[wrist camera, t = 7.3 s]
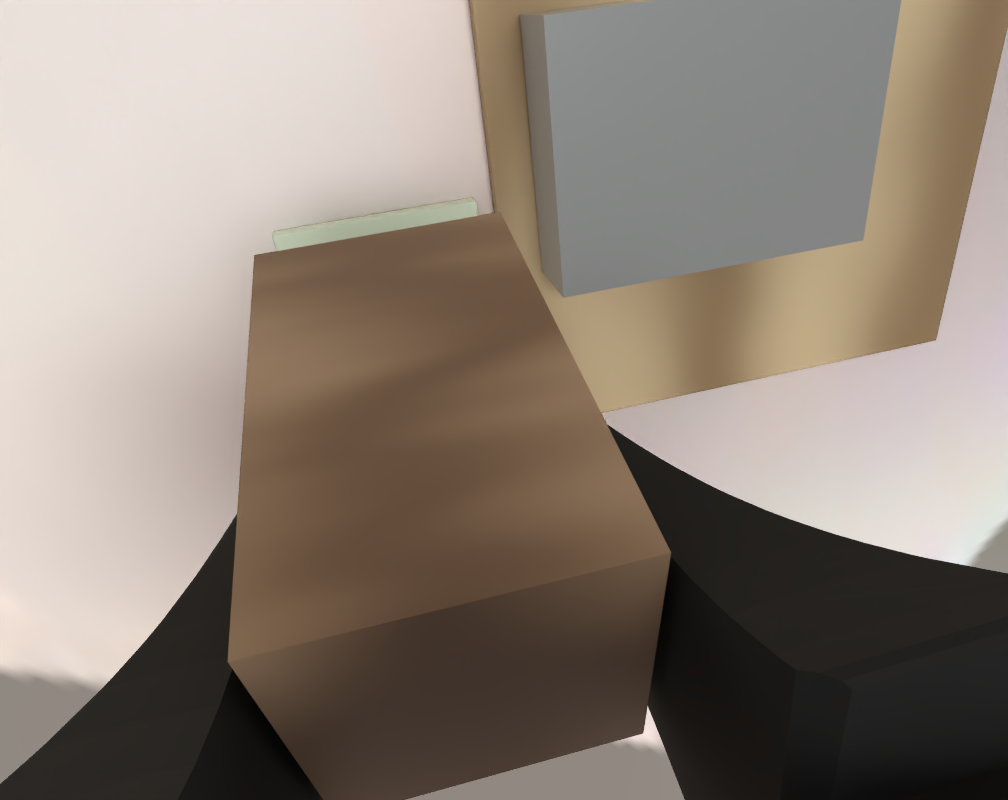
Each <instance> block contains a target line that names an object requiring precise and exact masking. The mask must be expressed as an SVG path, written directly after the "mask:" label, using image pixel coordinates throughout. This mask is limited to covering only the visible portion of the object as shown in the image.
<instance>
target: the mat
mask: <svg viewBox="0 0 1008 800" xmlns="http://www.w3.org/2000/svg"><path fill="white" fill-rule="evenodd" d="M615 1H622V0H469V5H470V14H471V22H472V30H473V39H474V47H475V55H476V64H477V72H478V80H479V89H480V97H481V105H482V114H483V122H484V130H485V139H486V147H487V155H488V164H489V172H490V180H491V189H492V197H493V205H494V213H497V212H501V214H502V216H503V218H504V220H505V222H506V224H507V226H508V228H509V230H510V232H511V234H512V236H513V238H514V240H515V242H516V244H517V246H518V248H519V250H520V252H521V254H522V256H523V258H524V260H525V262H526V264H527V266H528V268H529V270H530V272H531V274H532V276H533V278H534V280H535V282H536V284H537V286H538V288H539V290H540V292H541V294H542V296H543V298H544V300H545V302H546V304H547V306H548V308H549V310H550V312H551V314H552V316H553V318H554V320H555V322H556V324H557V326H558V328H559V330H560V332H561V334H562V336H563V338H564V340H565V342H566V344H567V346H568V348H569V350H570V352H571V354H572V356H573V358H574V360H575V362H576V364H577V366H578V368H579V370H580V372H581V374H582V376H583V378H584V380H585V382H586V384H587V386H588V388H589V390H590V392H591V394H592V396H593V398H594V400H595V402H596V404H597V406H598V408H599V410H600V412H601V413H603V412H608V411H612V410H617V409H622V408H626V407H631V406H635V405H640V404H645V403H649V402H654V401H658V400H663V399H668V398H672V397H677V396H681V395H686V394H691V393H695V392H700V391H704V390H709V389H714V388H718V387H723V386H727V385H732V384H737V383H741V382H746V381H750V380H755V379H760V378H764V377H769V376H773V375H778V374H783V373H787V372H792V371H796V370H801V369H806V368H810V367H815V366H819V365H824V364H829V363H833V362H838V361H842V360H847V359H852V358H856V357H861V356H865V355H870V354H875V353H879V352H884V351H888V350H893V349H898V348H902V347H907V346H911V345H916V344H921V343H925V342H930V341H934V340H936V338H937V334H938V329H939V325H940V320H941V316H942V312H943V307H944V303H945V299H946V294H947V290H948V285H949V281H950V277H951V272H952V268H953V264H954V259H955V255H956V250H957V246H958V242H959V237H960V233H961V229H962V224H963V220H964V215H965V211H966V207H967V202H968V198H969V194H970V189H971V185H972V180H973V176H974V172H975V167H976V163H977V159H978V154H979V150H980V145H981V141H982V137H983V132H984V128H985V124H986V119H987V115H988V110H989V106H990V102H991V97H992V93H993V89H994V84H995V80H996V75H997V71H998V67H999V62H1000V58H1001V54H1002V49H1003V45H1004V40H1005V36H1006V32H1007V27H1008V0H901V6H900V12H899V18H898V24H897V31H896V37H895V43H894V50H893V56H892V62H891V69H890V75H889V81H888V88H887V94H886V100H885V107H884V113H883V119H882V126H881V132H880V138H879V144H878V151H877V157H876V163H875V170H874V176H873V182H872V189H871V195H870V201H869V208H868V214H867V220H866V227H865V233H864V239H863V241H858V242H853V243H847V244H842V245H837V246H832V247H826V248H821V249H816V250H811V251H806V252H800V253H795V254H790V255H785V256H779V257H774V258H769V259H764V260H758V261H753V262H748V263H743V264H738V265H732V266H727V267H722V268H717V269H711V270H706V271H701V272H696V273H691V274H685V275H680V276H675V277H670V278H664V279H659V280H654V281H649V282H644V283H638V284H633V285H628V286H623V287H617V288H612V289H607V290H602V291H597V292H591V293H586V294H581V295H576V296H570V297H565V298H563V297H562V295H561V294H560V293H559V292H558V290H557V289H556V288H555V287H554V285H553V284H552V283H551V282H550V280H549V279H548V278H547V277H546V275H545V274H544V273H543V272H542V267H541V255H540V243H539V232H538V220H537V209H536V197H535V185H534V174H533V162H532V151H531V139H530V127H529V116H528V104H527V93H526V81H525V69H524V58H523V46H522V35H521V23H520V14H526V13H533V12H541V11H548V10H555V9H563V8H570V7H578V6H585V5H592V4H600V3H607V2H615Z"/></svg>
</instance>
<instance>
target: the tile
mask: <svg viewBox="0 0 1008 800" xmlns="http://www.w3.org/2000/svg"><path fill="white" fill-rule="evenodd" d="M900 6H901V0H622V1H615V2H607V3H600V4H592V5H585V6H578V7H570V8H563V9H555V10H548V11H541V12H533V13H526V14H520V23H521V35H522V46H523V58H524V69H525V81H526V93H527V104H528V116H529V127H530V139H531V151H532V162H533V174H534V185H535V197H536V209H537V220H538V232H539V243H540V255H541V267H542V272H543V273H544V274H545V275H546V277H547V278H548V279H549V280H550V282H551V283H552V284H553V285H554V287H555V288H556V289H557V290H558V292H559V293H560V294H561V295H562V297H563V298H565V297H570V296H576V295H581V294H586V293H591V292H597V291H602V290H607V289H612V288H617V287H623V286H628V285H633V284H638V283H644V282H649V281H654V280H659V279H664V278H670V277H675V276H680V275H685V274H691V273H696V272H701V271H706V270H711V269H717V268H722V267H727V266H732V265H738V264H743V263H748V262H753V261H758V260H764V259H769V258H774V257H779V256H785V255H790V254H795V253H800V252H806V251H811V250H816V249H821V248H826V247H832V246H837V245H842V244H847V243H853V242H858V241H863V239H864V233H865V227H866V220H867V214H868V208H869V201H870V195H871V189H872V182H873V176H874V170H875V163H876V157H877V151H878V144H879V138H880V132H881V126H882V119H883V113H884V107H885V100H886V94H887V88H888V81H889V75H890V69H891V62H892V56H893V50H894V43H895V37H896V31H897V24H898V18H899V12H900Z"/></svg>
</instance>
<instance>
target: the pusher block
mask: <svg viewBox="0 0 1008 800" xmlns="http://www.w3.org/2000/svg"><path fill="white" fill-rule="evenodd" d="M670 557H671V551H670V549H669V547H668V545H667V543H666V541H665V539H664V537H663V535H662V533H661V531H660V529H659V527H658V525H657V523H656V521H655V519H654V517H653V515H652V513H651V511H650V509H649V507H648V505H647V503H646V501H645V499H644V497H643V495H642V493H641V491H640V489H639V487H638V485H637V483H636V481H635V480H634V478H633V476H632V474H631V472H630V470H629V468H628V466H627V464H626V462H625V460H624V458H623V456H622V454H621V452H620V450H619V448H618V446H617V444H616V442H615V440H614V438H613V436H612V434H611V432H610V430H609V428H608V426H607V424H606V422H605V420H604V418H603V416H602V414H601V412H600V410H599V408H598V406H597V404H596V402H595V400H594V398H593V396H592V394H591V392H590V390H589V388H588V386H587V384H586V382H585V380H584V378H583V376H582V374H581V372H580V370H579V368H578V366H577V364H576V362H575V360H574V358H573V356H572V354H571V352H570V350H569V348H568V346H567V344H566V342H565V340H564V338H563V336H562V334H561V332H560V330H559V328H558V326H557V324H556V322H555V320H554V318H553V316H552V314H551V312H550V310H549V308H548V306H547V304H546V302H545V300H544V298H543V296H542V294H541V292H540V290H539V288H538V286H537V284H536V282H535V280H534V278H533V276H532V274H531V272H530V270H529V268H528V266H527V264H526V262H525V260H524V258H523V256H522V254H521V252H520V250H519V248H518V246H517V244H516V242H515V240H514V238H513V236H512V234H511V232H510V230H509V228H508V226H507V224H506V222H505V220H504V218H503V216H502V214H501V212H497V213H491V214H485V215H480V216H474V217H468V218H463V219H457V220H451V221H446V222H440V223H434V224H429V225H423V226H417V227H412V228H406V229H400V230H395V231H389V232H383V233H378V234H372V235H366V236H361V237H355V238H349V239H344V240H338V241H332V242H327V243H321V244H315V245H310V246H304V247H298V248H293V249H287V250H281V251H275V252H270V253H264V254H258V255H254V269H253V285H252V300H251V315H250V330H249V345H248V360H247V375H246V390H245V406H244V421H243V436H242V451H241V466H240V481H239V496H238V511H237V527H236V542H235V557H234V572H233V587H232V602H231V617H230V632H229V648H228V663H229V665H230V666H231V667H232V669H233V670H234V672H235V673H236V675H237V676H238V678H239V679H240V680H241V682H242V683H243V685H244V686H245V688H246V689H247V690H248V692H249V693H250V695H251V696H252V698H253V699H254V701H255V702H256V703H257V705H258V706H259V708H260V709H261V711H262V712H263V714H264V715H265V716H266V718H267V719H268V721H269V722H270V724H271V725H272V726H273V728H274V729H275V731H276V732H277V734H278V735H279V737H280V738H281V739H282V741H283V742H284V744H285V745H286V747H287V748H288V750H289V751H290V752H291V754H292V755H293V757H294V758H295V760H296V761H297V762H298V764H299V765H300V767H301V768H302V770H303V771H304V773H305V774H306V775H307V777H308V778H309V780H310V781H311V783H312V784H313V786H314V787H315V788H316V790H317V791H318V793H319V794H320V796H321V797H322V798H323V800H405V799H408V798H412V797H416V796H420V795H423V794H427V793H431V792H434V791H437V790H441V789H445V788H449V787H452V786H456V785H459V784H463V783H466V782H470V781H474V780H477V779H480V778H484V777H488V776H492V775H495V774H499V773H502V772H506V771H510V770H513V769H517V768H520V767H524V766H528V765H531V764H535V763H538V762H542V761H545V760H549V759H553V758H556V757H560V756H563V755H567V754H570V753H574V752H578V751H581V750H585V749H588V748H592V747H596V746H599V745H603V744H607V743H610V742H614V741H617V740H621V739H624V738H628V737H632V736H635V735H639V734H642V733H643V731H644V725H645V718H646V712H647V705H648V699H649V693H650V686H651V680H652V673H653V667H654V660H655V654H656V647H657V641H658V634H659V628H660V622H661V615H662V609H663V602H664V596H665V589H666V583H667V576H668V570H669V563H670Z"/></svg>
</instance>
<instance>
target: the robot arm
mask: <svg viewBox="0 0 1008 800" xmlns="http://www.w3.org/2000/svg"><path fill="white" fill-rule="evenodd" d="M607 426H608V428H609V430H610V432H611V434H612V436H613V438H614V440H615V442H616V444H617V446H618V448H619V450H620V452H621V454H622V456H623V458H624V460H625V462H626V464H627V466H628V468H629V470H630V472H631V474H632V476H633V478H634V480H635V481H636V483H637V485H638V487H639V489H640V491H641V493H642V495H643V497H644V499H645V501H646V503H647V505H648V507H649V509H650V511H651V513H652V515H653V517H654V519H655V521H656V523H657V525H658V527H659V529H660V531H661V533H662V535H663V537H664V539H665V541H666V543H667V545H668V547H669V549H670V551H671V557H670V563H669V570H668V576H667V583H666V589H665V596H664V602H663V609H662V615H661V622H660V628H659V634H658V641H657V647H656V654H655V660H654V667H653V673H652V680H651V686H650V693H649V699H648V707H649V710H650V712H651V715H652V717H653V720H654V722H655V725H656V727H657V730H658V732H659V735H660V737H661V740H662V742H663V745H664V747H665V750H666V752H667V755H668V757H669V760H670V762H671V765H672V768H673V770H674V773H675V776H676V778H677V781H678V783H679V786H680V788H681V791H682V793H683V796H684V799H685V800H1008V574H1007V573H1002V572H996V571H991V570H986V569H980V568H976V567H970V566H965V565H960V564H954V563H949V562H944V561H939V560H933V559H928V558H923V557H919V556H914V555H910V554H906V553H902V552H898V551H894V550H890V549H886V548H882V547H878V546H874V545H870V544H866V543H863V542H859V541H856V540H852V539H849V538H846V537H842V536H839V535H835V534H832V533H829V532H826V531H823V530H820V529H817V528H814V527H811V526H808V525H805V524H802V523H799V522H796V521H793V520H790V519H787V518H785V517H782V516H779V515H777V514H774V513H772V512H769V511H766V510H764V509H762V508H759V507H757V506H755V505H752V504H750V503H748V502H745V501H743V500H740V499H738V498H736V497H733V496H731V495H729V494H727V493H725V492H722V491H720V490H718V489H716V488H714V487H712V486H710V485H708V484H706V483H704V482H702V481H700V480H698V479H696V478H695V477H693V476H691V475H689V474H687V473H685V472H683V471H681V470H679V469H678V468H676V467H674V466H672V465H671V464H669V463H667V462H665V461H664V460H662V459H660V458H658V457H657V456H655V455H654V454H652V453H650V452H649V451H647V450H645V449H644V448H642V447H640V446H639V445H637V444H636V443H634V442H633V441H631V440H630V439H628V438H627V437H625V436H624V435H622V434H621V433H619V432H618V431H616V430H615V429H613V428H612V427H610V426H609V425H607ZM236 527H237V515H236V516H235V518H234V519H233V521H232V523H231V524H230V526H229V527H228V529H227V530H226V532H225V533H224V535H223V537H222V538H221V540H220V541H219V543H218V544H217V546H216V547H215V549H214V550H213V552H212V553H211V554H210V556H209V557H208V559H207V560H206V562H205V563H204V565H203V566H202V568H201V569H200V571H199V572H198V574H197V575H196V577H195V578H194V579H193V581H192V582H191V583H190V585H189V586H188V587H187V589H186V590H185V591H184V593H183V594H182V595H181V597H180V598H179V599H178V601H177V602H176V603H175V604H174V606H173V607H172V608H171V610H170V611H169V612H168V614H167V615H166V616H165V618H164V619H163V620H162V622H161V623H160V624H159V625H158V626H157V628H156V629H155V630H154V631H153V633H152V634H151V635H150V636H149V637H148V638H147V640H146V641H145V642H144V643H143V644H142V645H141V647H140V648H139V649H138V650H137V651H136V652H135V653H134V654H133V656H132V657H131V658H130V659H129V660H128V661H127V662H126V663H125V664H124V666H123V667H122V668H121V669H120V670H119V671H118V672H117V673H116V674H115V675H114V677H113V678H112V679H111V680H110V681H109V682H108V683H107V684H106V685H105V686H104V687H103V688H102V689H101V690H100V691H99V692H98V693H97V694H96V695H95V696H94V697H93V698H92V699H91V700H90V701H89V702H88V703H87V704H86V705H85V706H84V707H83V708H82V709H81V710H80V711H79V712H78V713H77V714H76V715H75V716H73V718H71V719H70V721H68V722H67V724H65V725H64V726H63V727H62V728H61V729H60V730H59V731H58V732H57V733H56V734H55V735H54V736H53V737H52V738H51V739H50V740H49V741H48V742H47V743H46V744H45V745H44V746H43V747H42V748H40V749H39V750H38V751H37V752H36V753H35V754H34V755H33V756H32V757H30V758H29V759H28V760H27V761H26V762H25V763H24V764H22V765H21V766H20V767H19V768H18V769H17V770H16V771H15V772H13V773H12V774H11V775H10V776H9V777H8V778H7V779H5V780H4V781H3V782H2V783H1V784H0V800H323V798H322V797H321V796H320V794H319V793H318V791H317V790H316V788H315V787H314V786H313V784H312V783H311V781H310V780H309V778H308V777H307V775H306V774H305V773H304V771H303V770H302V768H301V767H300V765H299V764H298V762H297V761H296V760H295V758H294V757H293V755H292V754H291V752H290V751H289V750H288V748H287V747H286V745H285V744H284V742H283V741H282V739H281V738H280V737H279V735H278V734H277V732H276V731H275V729H274V728H273V726H272V725H271V724H270V722H269V721H268V719H267V718H266V716H265V715H264V714H263V712H262V711H261V709H260V708H259V706H258V705H257V703H256V702H255V701H254V699H253V698H252V696H251V695H250V693H249V692H248V690H247V689H246V688H245V686H244V685H243V683H242V682H241V680H240V679H239V678H238V676H237V675H236V673H235V672H234V670H233V669H232V667H231V666H230V665H229V663H228V648H229V632H230V617H231V602H232V587H233V572H234V557H235V542H236Z"/></svg>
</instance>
